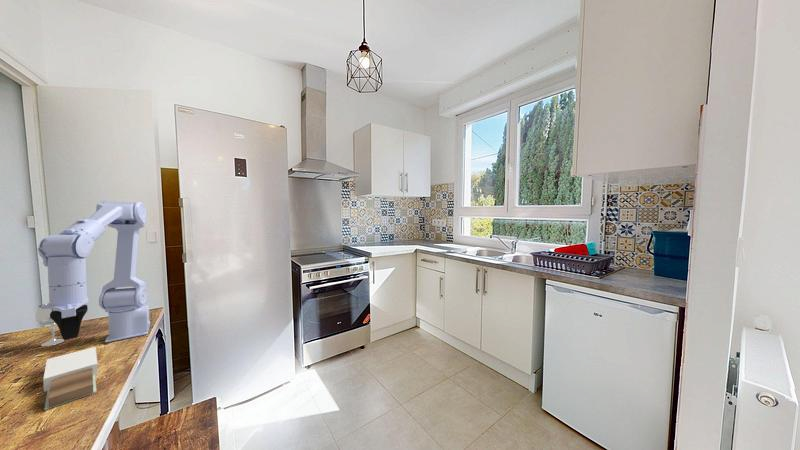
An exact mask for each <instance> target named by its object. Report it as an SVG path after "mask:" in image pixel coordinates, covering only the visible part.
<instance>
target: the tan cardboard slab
mask: <svg viewBox="0 0 800 450" xmlns="http://www.w3.org/2000/svg"><path fill="white" fill-rule="evenodd" d="M91 393H93V374H92V368H91V369H88V370H84V371H81V372H78V373H74V374H71V375H67V376H64V377H60V378H57V379H54V380H51V386H50V392H49V398H48V403H49V408H50V407H53V406H56V405H58V406H60V405H59V404H61V405H63V404H62V403H64V404H66V403H65V402H67V403H69V402H68V401H70V402H72V401H71V400H73V401H75V400H74V399H76V400H78V399H77V398H79V397H82V396H85V395H87V396H89V395H88V394H90V395H92V394H91ZM93 394H94V393H93ZM85 397H86V396H85ZM82 398H83V397H82ZM79 399H80V398H79ZM56 407H57V406H56ZM53 408H54V407H53ZM50 409H51V408H50Z"/></svg>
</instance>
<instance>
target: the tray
mask: <svg viewBox="0 0 800 450" xmlns="http://www.w3.org/2000/svg"><path fill="white" fill-rule="evenodd" d="M98 364H99V363H98V356H97V349H96V346H93V347H90V348H86V349H83V350H78V351H74V352H70V353H66V354H63V355H59V356H54V357H50V358H47V359H46V363H45V368H44V374H43V379H42V381H43V392H47V390H48V389H50V386H51V380H54V379H57V378H60V377H64V376H67V375H71V374H74V373H78V372H81V371H84V370H88V369H91V368H92V374H93V375H95V377H96V376H99V369H98Z"/></svg>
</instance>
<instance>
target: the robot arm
mask: <svg viewBox="0 0 800 450" xmlns="http://www.w3.org/2000/svg"><path fill="white" fill-rule="evenodd" d="M95 208H96V209H95V212H94V213H93V214H92V215H91V216H90V217H89V218H79V219H77V220H76V222H74V223H72V224H71V225H70V226H68V227H67V228H66V229H65V230H63V231H62V232H59V233H58V234H50V235H48V236H46V237H44V238H42V240H41V241H40V243H39V245H38V248H37V251H38V254H39V256H40V257H41V259H42V261H43V262H42V263H43V265H44V267H47V281H48V283H47V284H48V285H47V286H48V299H49V300H48V302H49V304H47V303H43V304H41V309H48V308H49V309H53V310H55V311H52V312H51V313H50V318H51V319H52V320H53V321H54V322H55V323H56V324H55V325H57V327H58V330H59V333H60V336H61V337H62V338H61V339H64V340H65V341H68V340H71V339H75V338H78V337H79V334H80V329H81V324H82V321H83V319H84V316H85V315H86V313H88V310H89V309H88V305H87V303H88V302H89V301H90V300H89V297H88V285H87V284H88V282H87V281H88V279H87V278H88V277H87V257H88V256H90V255H91V253H92V250H93V247H94V246H95V242H96V241H97V240H98V239H100V238H101V236H103V235H104V233H105V232H106V229H105V227H107V226H108V228H109V227H110V228H113V229H115V230H116V231H117V236H116V237H117V238H116V239H117V240H116V249H115V250H116V251H115V259H114V260H115V261H114V271H113V278H112V280H111V281H109V282H108V283H106V284H104V285H103V286H102V289H101V293H100V295H99V297H98V305H99V307H100V308H101V309H102V310H104V312H105V313H107V314H108V315H107V317H108V318H107V319H108V335H107V337H106V338H105V341H104V343H110V342H111V343H112V342H115V341H116V342H117V341H120V340H126V339H130V338H135V337H139V336H144V335H147V334H148V333H149V331H150V326H151V321H150V305H148V304H146V301H147V300H148V290H147V283H146V282H145V281H143V280H141V279H139V278H138V277H136V276H137V263H138V262H137V261H138V251H139V235H140V230H141V229H143V228H145V227H146V222H147V208H146V205H145V204H144V203H143V202H141V201H120V200H119V201H118V200H117V201H116V200H115V201H114V200H113V201H112V200H111V201H110V200H100V201H99V202H98V203H96V207H95ZM144 304H145V305H144Z"/></svg>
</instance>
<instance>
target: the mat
mask: <svg viewBox="0 0 800 450" xmlns="http://www.w3.org/2000/svg"><path fill="white" fill-rule="evenodd" d="M96 383H97V382H96V376H95V375H93V393H91V394H88V395H85V396H82V397H79V398H77V399H74V400H71V401H68V402H65V403H62V404H59V405H56V406H53V408H55V407H58V406H61V405H64V404H66V403H70V402H73V401H75V400H78V399H81V398H85V397H87V396H90V395H93V394H96V393H97V384H96ZM49 392H50V389H48V390H47V391H46V397H45V401H44V402H45V403H44V408H43V409H44V411H47V410H49V409H52V407H50V408H49V403H48V398H49Z"/></svg>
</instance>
